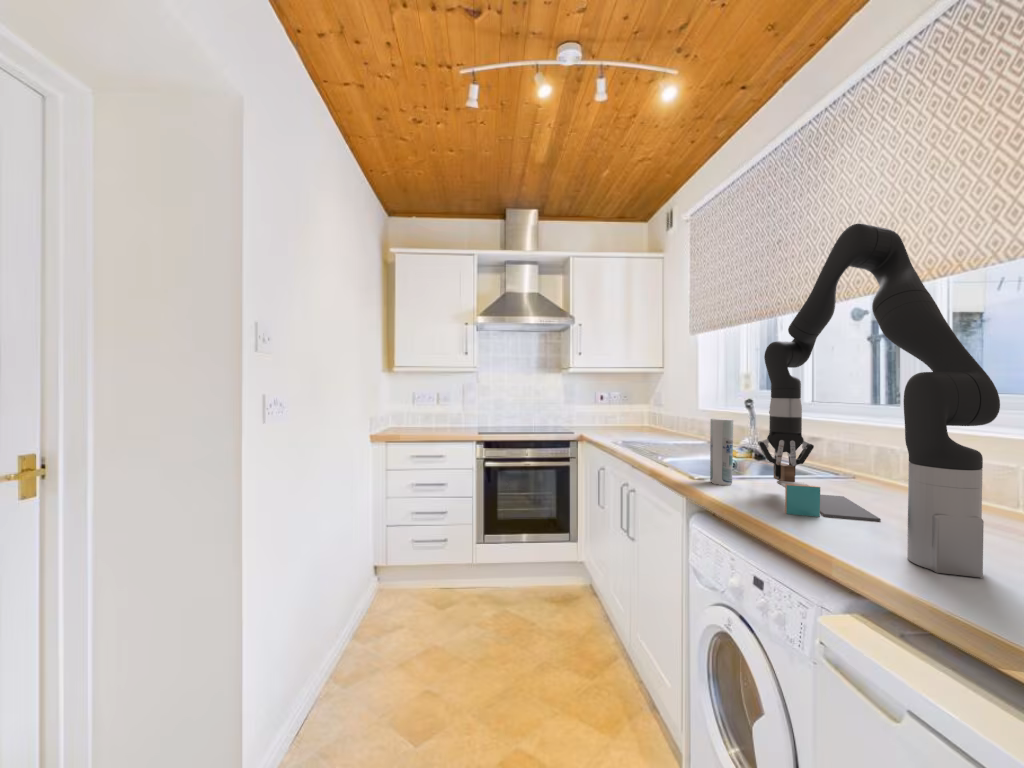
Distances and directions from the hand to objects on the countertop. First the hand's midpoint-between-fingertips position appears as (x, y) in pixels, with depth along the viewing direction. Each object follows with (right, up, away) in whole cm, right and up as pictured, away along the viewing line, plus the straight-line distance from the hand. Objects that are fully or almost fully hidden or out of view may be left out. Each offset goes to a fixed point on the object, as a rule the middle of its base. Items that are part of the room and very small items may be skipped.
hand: (784, 478), depth 124 cm
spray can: (-9, -5, +18) cm, 21 cm away
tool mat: (+8, -5, -8) cm, 13 cm away
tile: (-5, -5, -16) cm, 17 cm away
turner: (-1, -1, -3) cm, 3 cm away
